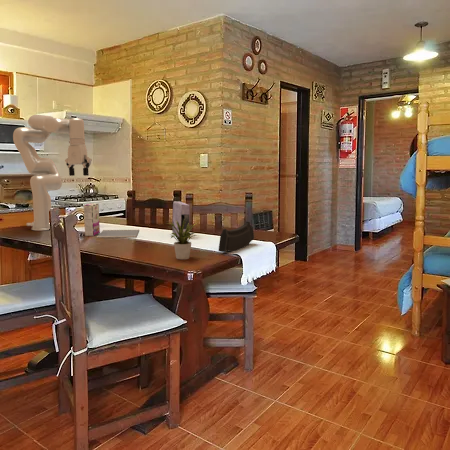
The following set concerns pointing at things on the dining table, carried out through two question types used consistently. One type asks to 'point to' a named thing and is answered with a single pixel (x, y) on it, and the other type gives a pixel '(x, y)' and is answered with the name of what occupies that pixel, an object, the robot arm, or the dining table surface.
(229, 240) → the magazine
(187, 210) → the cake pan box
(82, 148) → the robot arm
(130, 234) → the mat
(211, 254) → the dining table surface
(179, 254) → the house plant
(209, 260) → the dining table surface
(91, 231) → the candy bar box
